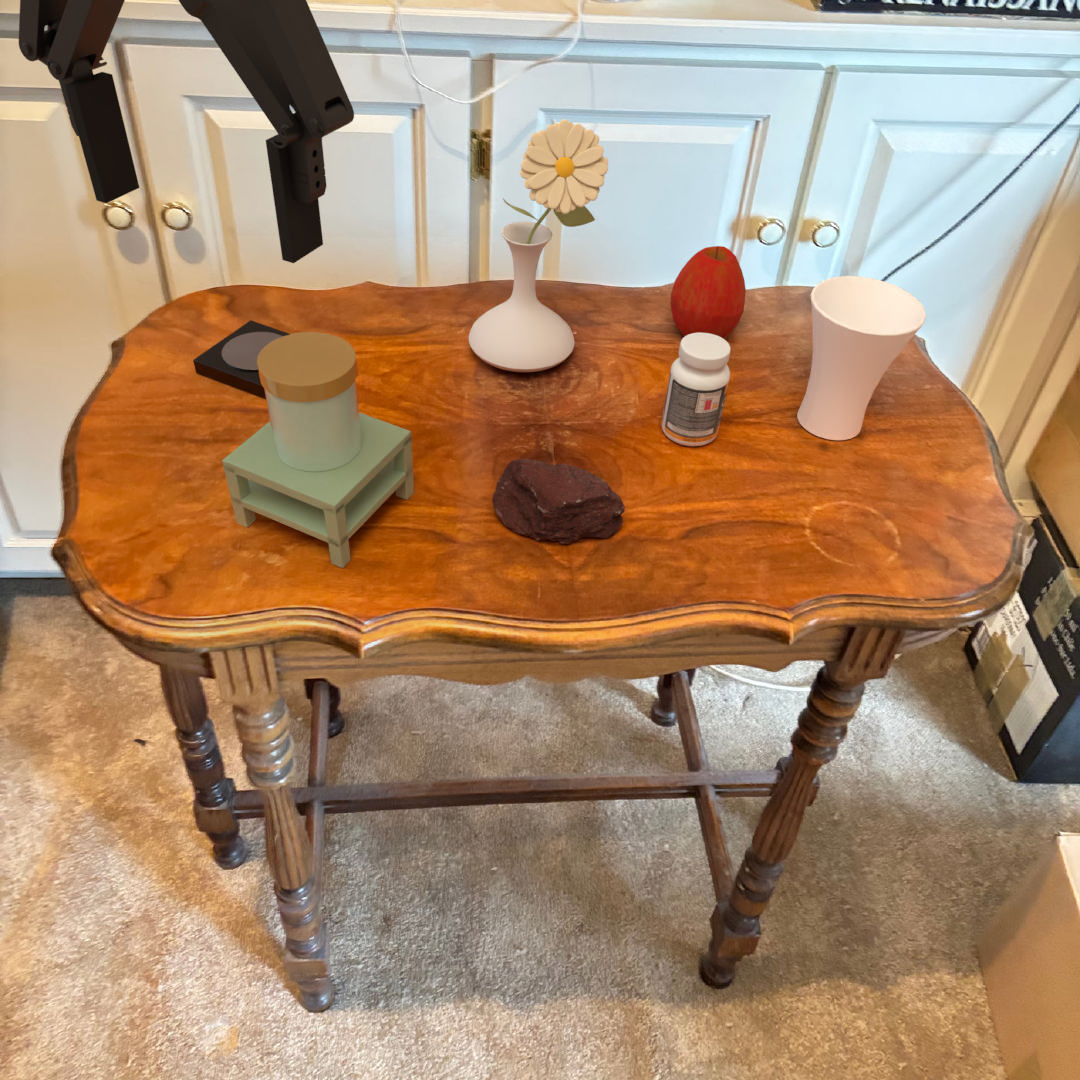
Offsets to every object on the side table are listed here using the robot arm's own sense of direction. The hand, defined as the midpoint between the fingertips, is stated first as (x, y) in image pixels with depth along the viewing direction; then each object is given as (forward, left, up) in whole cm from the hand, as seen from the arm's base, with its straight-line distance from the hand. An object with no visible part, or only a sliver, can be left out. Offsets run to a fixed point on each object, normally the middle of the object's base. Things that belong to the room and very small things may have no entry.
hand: (207, 222), depth 55 cm
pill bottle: (+22, +36, -31) cm, 52 cm away
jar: (-2, +9, -24) cm, 25 cm away
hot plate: (-21, +24, -31) cm, 44 cm away
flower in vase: (+2, +40, -31) cm, 51 cm away
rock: (+16, +18, -31) cm, 39 cm away
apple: (+17, +54, -31) cm, 65 cm away
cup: (+34, +45, -31) cm, 64 cm away
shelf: (-2, +9, -31) cm, 32 cm away
